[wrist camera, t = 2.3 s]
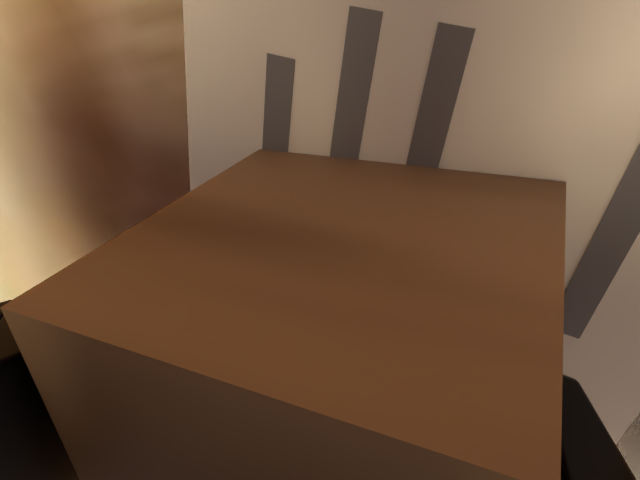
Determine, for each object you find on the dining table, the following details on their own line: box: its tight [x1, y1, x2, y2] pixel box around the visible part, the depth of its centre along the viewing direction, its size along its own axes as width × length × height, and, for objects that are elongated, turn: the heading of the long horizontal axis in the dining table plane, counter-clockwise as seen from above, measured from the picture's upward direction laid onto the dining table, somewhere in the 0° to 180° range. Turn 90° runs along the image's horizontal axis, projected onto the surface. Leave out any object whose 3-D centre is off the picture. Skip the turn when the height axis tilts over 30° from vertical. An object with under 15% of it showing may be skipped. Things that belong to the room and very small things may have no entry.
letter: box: [183, 0, 640, 444], centre depth 9 cm, size 12×9×1 cm
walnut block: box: [0, 149, 566, 480], centre depth 7 cm, size 5×5×5 cm
